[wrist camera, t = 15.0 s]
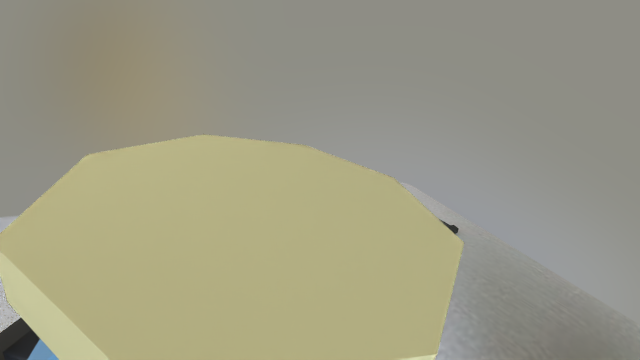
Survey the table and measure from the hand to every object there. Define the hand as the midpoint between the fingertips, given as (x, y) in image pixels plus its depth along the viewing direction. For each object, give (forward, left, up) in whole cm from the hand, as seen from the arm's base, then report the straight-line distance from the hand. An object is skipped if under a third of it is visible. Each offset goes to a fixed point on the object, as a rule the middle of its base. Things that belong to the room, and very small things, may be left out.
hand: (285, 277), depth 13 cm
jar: (+2, +4, -9) cm, 10 cm away
